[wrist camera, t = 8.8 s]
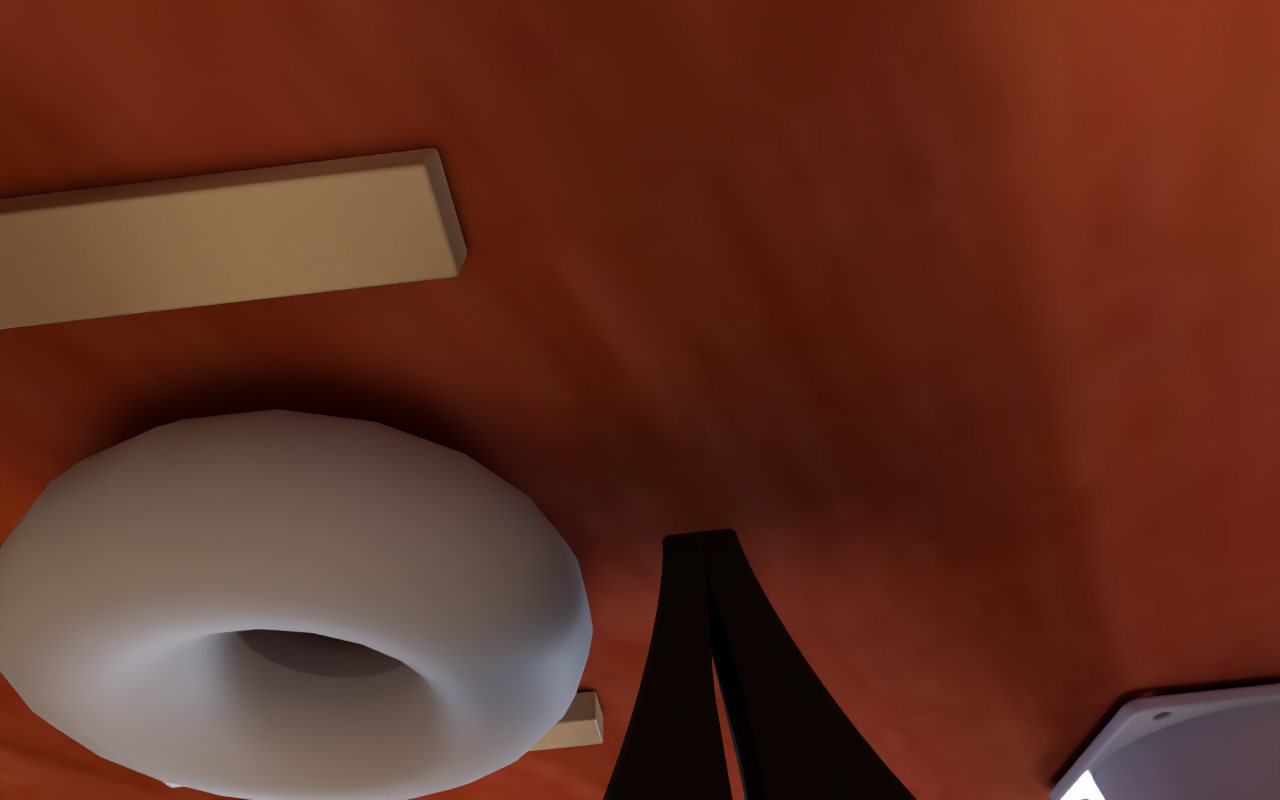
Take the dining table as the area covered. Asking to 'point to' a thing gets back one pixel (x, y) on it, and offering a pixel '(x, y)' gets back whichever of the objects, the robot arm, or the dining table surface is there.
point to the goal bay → (241, 257)
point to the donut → (292, 610)
